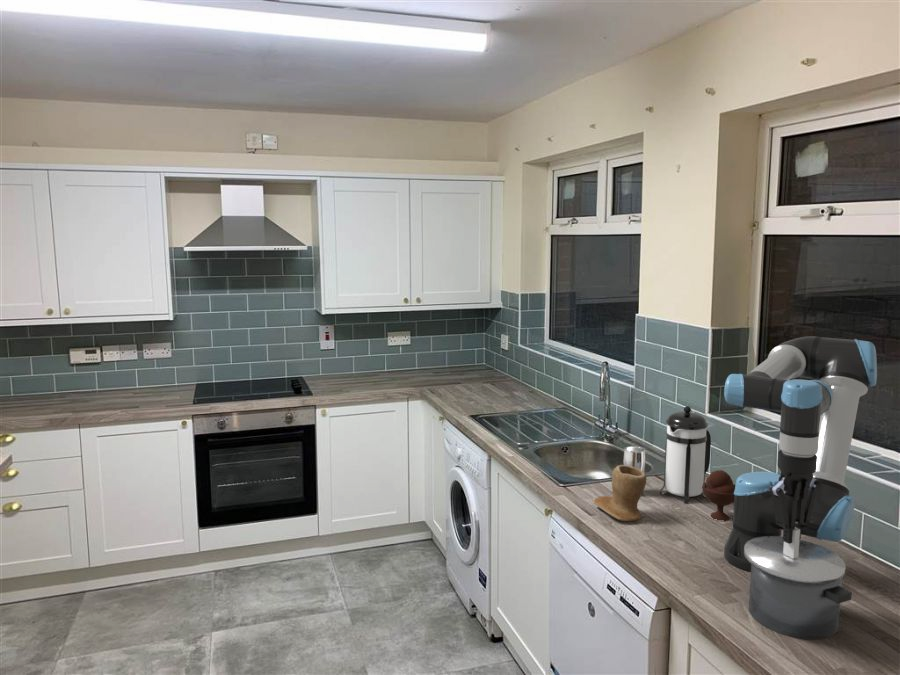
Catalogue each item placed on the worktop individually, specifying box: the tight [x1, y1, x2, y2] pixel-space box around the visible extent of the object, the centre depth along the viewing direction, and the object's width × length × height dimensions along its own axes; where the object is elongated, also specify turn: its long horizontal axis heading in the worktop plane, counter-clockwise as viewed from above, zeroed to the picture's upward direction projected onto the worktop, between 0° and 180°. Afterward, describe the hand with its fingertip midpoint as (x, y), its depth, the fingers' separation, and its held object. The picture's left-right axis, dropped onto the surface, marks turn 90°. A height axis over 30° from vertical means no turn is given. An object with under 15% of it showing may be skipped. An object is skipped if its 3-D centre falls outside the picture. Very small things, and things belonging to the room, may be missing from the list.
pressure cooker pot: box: [748, 555, 853, 640], centre depth 153 cm, size 20×24×13 cm
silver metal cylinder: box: [622, 445, 646, 473], centre depth 226 cm, size 7×7×15 cm
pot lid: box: [744, 536, 846, 583], centre depth 151 cm, size 20×20×3 cm
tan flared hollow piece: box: [592, 464, 647, 522], centre depth 209 cm, size 15×12×15 cm
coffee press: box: [659, 405, 712, 504], centre depth 224 cm, size 17×16×30 cm
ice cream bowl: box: [702, 469, 736, 522], centre depth 206 cm, size 11×11×15 cm
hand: (790, 555), depth 151 cm, fingers closed
